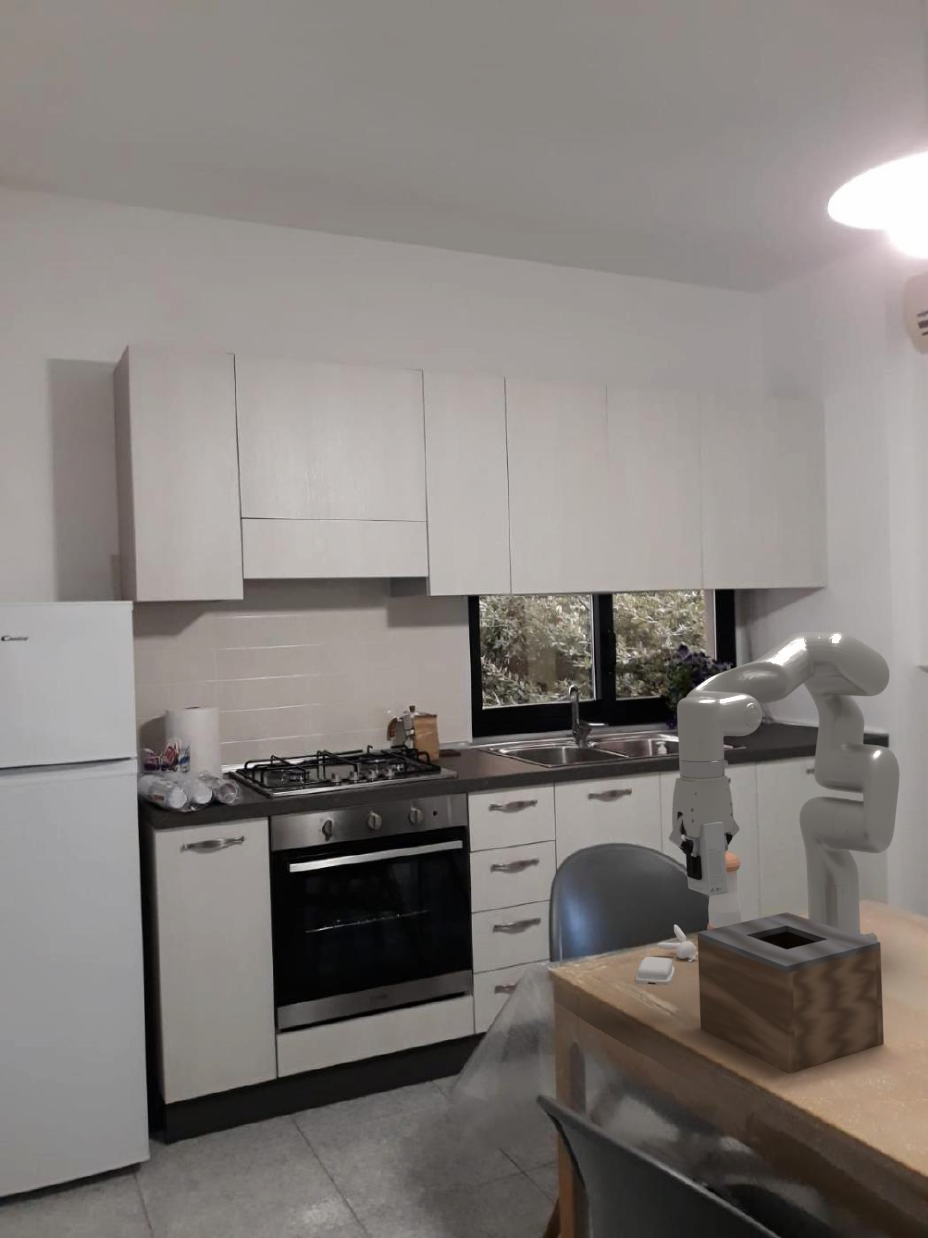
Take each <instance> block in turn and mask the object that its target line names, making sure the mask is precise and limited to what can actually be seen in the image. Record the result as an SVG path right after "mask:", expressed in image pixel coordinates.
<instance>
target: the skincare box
mask: <svg viewBox="0 0 928 1238" xmlns="http://www.w3.org/2000/svg"><path fill="white" fill-rule="evenodd" d="M699 841H700V844H699V851H698V856H701V868H702V879H701V880H696V879H693V878H690V877H688V876H687V875H686V877H687V887H688V889H690V890H692V891H694V892H698V893H701V894H703V895H706V896H709V897H710V896H713V895H719V894H724V893H727V891H728V888H727V873H726V859H725V845H724V831H723V823H722V822H716V823H709V824H703V825H702V837H701V838H699ZM691 846H692V840H691Z"/></svg>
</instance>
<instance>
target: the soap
mask: <svg viewBox="0 0 928 1238" xmlns="http://www.w3.org/2000/svg"><path fill="white" fill-rule="evenodd" d="M675 969H676V968H675V966H673V961H672V959H671V958H669V957H658V956H657V957H655V956H645V957H644V958H643V959H642V960H641V962H640V963H639V966H638V968H637V972H636V974H635V983H639V984H647V985H648V984H649V983H652V984H653V983H655V985H661V986H662V985H663V986H666V985H670V984H671V982H672V981H673V980H674V977H675V973H676V970H675Z"/></svg>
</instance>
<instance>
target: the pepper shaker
mask: <svg viewBox="0 0 928 1238" xmlns="http://www.w3.org/2000/svg"><path fill="white" fill-rule="evenodd" d="M725 859H726V873H727V888H728V891H727V893H724V894H719V895H713V896H709V899H708V906H707V909H708V910H707V911H708V923H707V930H710V929H714V928H719V927H723V926H728V925H732V924H737V923H741V922H742V906H741V905H742V904H741V901H740V896H739V895H740V894H739V890H738V871H739V869H740V867H741V861H740V858H739V857H738V856H737V855H735V854H734V853H731V852H727V851H726V852H725Z"/></svg>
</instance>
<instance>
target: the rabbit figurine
mask: <svg viewBox="0 0 928 1238" xmlns="http://www.w3.org/2000/svg"><path fill="white" fill-rule="evenodd" d="M673 931H674V934H675V937H677V938H678V940H680V941H681V942H665V941H664V942H663V941H662V942H658V943H657V947H658V948H659V949H662V950H666V951H670V950H671V951H672V950H676V955H674V956H673V958H677V957H678V958H679V959H680V960H683V959H687V958H688V959H687V960H688V962H689V963H692V961H695V960H696V959H697V958H696V957H698V950H697V947H696V946H695V943H693V942H692V941H690V940H687V937H686V935H685V933H684V932H683V931H682V928H680V927H679V925H677V924H674V925H673Z"/></svg>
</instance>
